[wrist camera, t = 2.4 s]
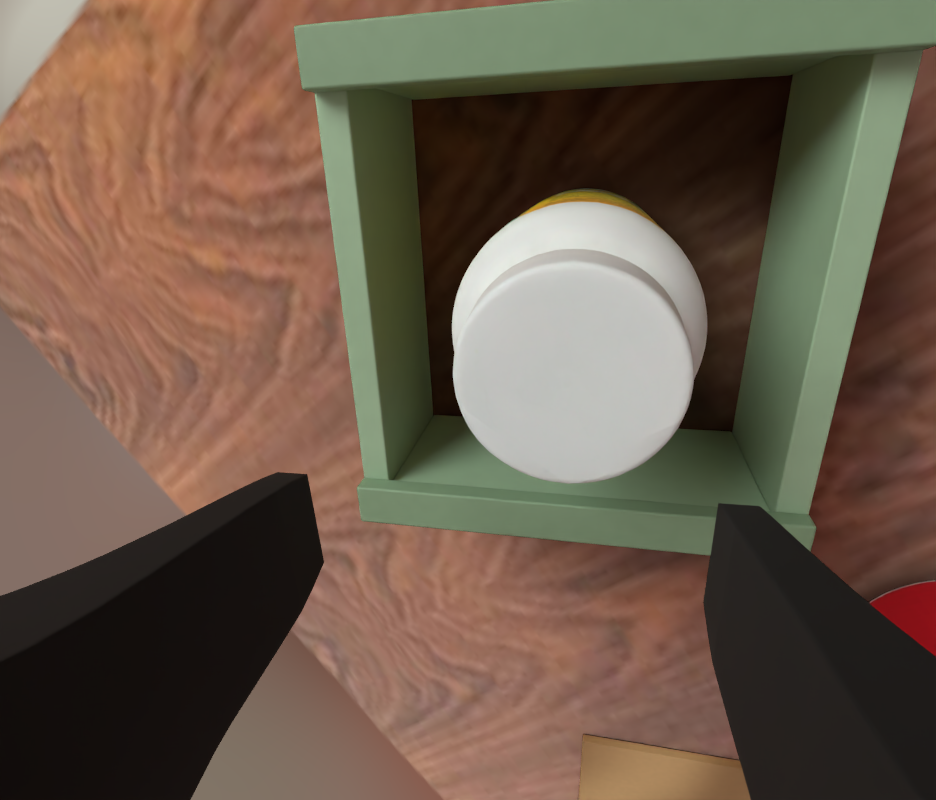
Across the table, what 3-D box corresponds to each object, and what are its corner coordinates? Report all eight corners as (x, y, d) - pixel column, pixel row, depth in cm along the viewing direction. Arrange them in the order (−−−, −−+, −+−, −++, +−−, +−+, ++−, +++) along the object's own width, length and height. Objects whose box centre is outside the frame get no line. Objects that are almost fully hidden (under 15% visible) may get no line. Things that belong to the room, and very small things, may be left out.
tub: (834, 28, 14) (964, -41, 9) (752, 458, 19) (807, 566, 14) (383, 63, 17) (292, 24, 12) (415, 436, 22) (360, 522, 17)
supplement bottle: (630, 374, 19) (658, 560, 10) (480, 326, 19) (386, 466, 11) (698, 214, 16) (811, 279, 8) (525, 163, 17) (453, 173, 8)
